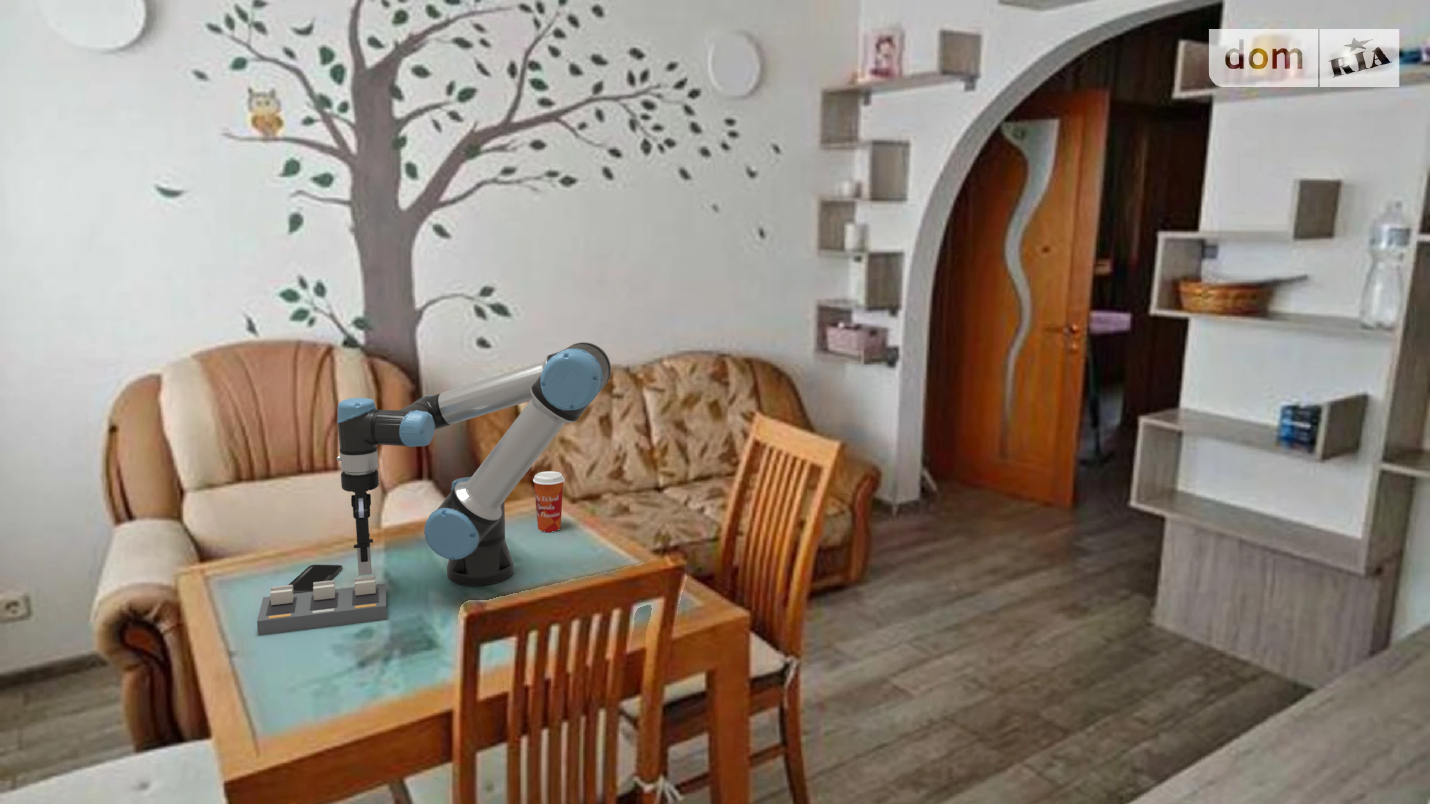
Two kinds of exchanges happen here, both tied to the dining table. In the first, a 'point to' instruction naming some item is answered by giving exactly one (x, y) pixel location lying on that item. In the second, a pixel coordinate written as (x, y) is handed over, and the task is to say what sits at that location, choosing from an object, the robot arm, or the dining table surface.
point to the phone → (314, 577)
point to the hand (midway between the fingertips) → (365, 573)
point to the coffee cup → (548, 500)
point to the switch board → (322, 611)
